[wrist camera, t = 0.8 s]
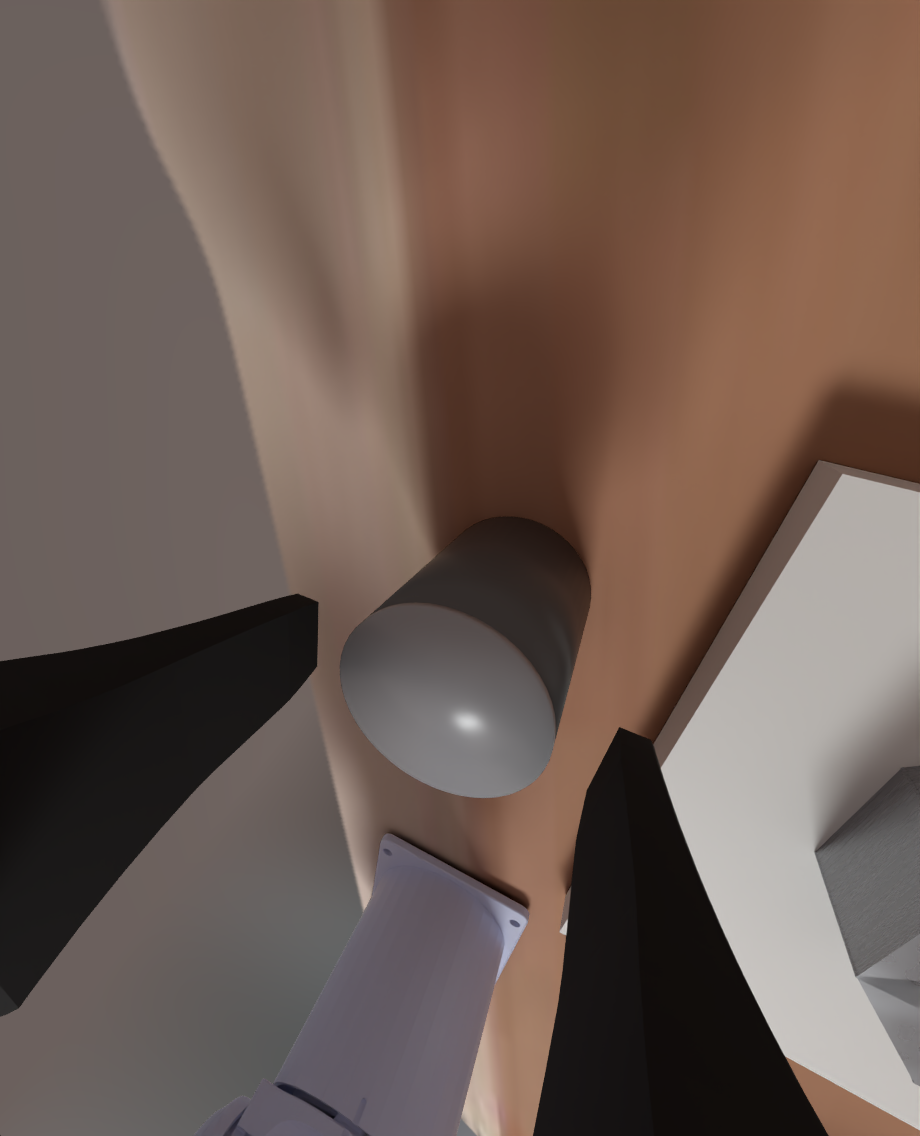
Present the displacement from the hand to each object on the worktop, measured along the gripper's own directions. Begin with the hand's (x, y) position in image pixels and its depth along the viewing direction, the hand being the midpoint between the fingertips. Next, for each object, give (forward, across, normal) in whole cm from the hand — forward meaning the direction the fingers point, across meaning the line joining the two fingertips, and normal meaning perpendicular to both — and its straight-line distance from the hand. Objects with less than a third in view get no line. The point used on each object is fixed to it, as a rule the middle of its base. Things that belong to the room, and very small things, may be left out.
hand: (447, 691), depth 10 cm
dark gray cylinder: (+6, 0, 0) cm, 6 cm away
